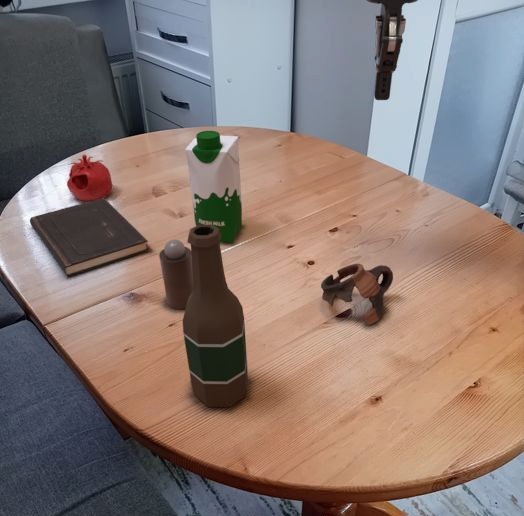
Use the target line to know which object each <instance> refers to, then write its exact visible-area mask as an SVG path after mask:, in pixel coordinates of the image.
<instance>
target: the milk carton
mask: <svg viewBox="0 0 524 516" xmlns="http://www.w3.org/2000/svg"><path fill="white" fill-rule="evenodd" d="M239 148H240V147H239V136H238V135H237V136H236V135H221V134H220V132H218V131H217V130H203V131H200V132H198V133H197V134H196V135H195V138H193V139H192V140H191V142H190V143H189V144H188V145H187V146H186V147H185V148H184V150H185V151H184V152H185V157H186V162H187V166H188V167H187V168H188V175H189V184H190V191H191V192H190V193H191V201H192V207H193V217H194V223H195V227H196V226H198V225H213V226H215V227H216V228H218V229H219V231H220V233H221V240H220V244H221V243H222V244H231V245H232V244H233V243H234V242H235V240H236V238H237V236H238V234H239V232H240V231H241V230H242V229H241V228H242V226H243V225H242V223H243V201H242V184H241V169H240V149H239Z"/></svg>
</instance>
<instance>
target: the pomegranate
mask: <svg viewBox="0 0 524 516" xmlns="http://www.w3.org/2000/svg"><path fill="white" fill-rule="evenodd" d="M91 159H94V156H88V157H87V154H82V156H81V158H78V159H77V160H78V161H80V162H71V163H68V164H67V165H71V168H70V170H69V171H70V172H69V174H68V177H69V178H68V180H67V181H66V186H67V188H68V190H69V192H70V193H71V194H72V196H73V197H75V198H76V199H78V200H81V201H84V202H89V201H93V200H97V199H100V198H105V197H108V196H109V195H110V194H111V193H112V191H113V180H112V176H111V172H110V169H109V168H108V167H107V166H106V165H105V164H104V163H101V162H102V160H100V159H99V160H95V161H91Z"/></svg>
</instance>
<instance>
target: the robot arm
mask: <svg viewBox="0 0 524 516" xmlns="http://www.w3.org/2000/svg"><path fill="white" fill-rule="evenodd" d="M366 1H367V2H369V3H371V4H375V5H376V4H377V5H379V4H380V5H381V6H380V12H379V13H380V14H377V15H375V16H374V24H373V25H374V26H373V27H374V30H375V33H374V42H373V43H374V44H373V50H374V54H375V55H374V61H375V63H374V68H375V72H376V73H375V81H374V92H373V95H374V99H375V100H376V101H388V100H389V99H390V98H391V97H390V96H391V89H392V79H393V74H394V72H396V69H397V67H398V61H399V57H400V53H401V48H402V44H403V43H404V42H403V41H404V39H403V35H404V33H405V31H406V24H407V20H406V19H407V18H406V17H405V16H404V15H405V14H403V6H404V5H405V4H413V3H416V2H418V1H419V0H366Z"/></svg>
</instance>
